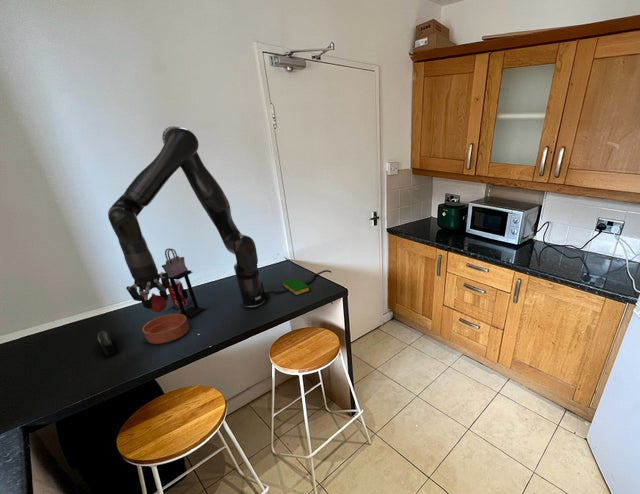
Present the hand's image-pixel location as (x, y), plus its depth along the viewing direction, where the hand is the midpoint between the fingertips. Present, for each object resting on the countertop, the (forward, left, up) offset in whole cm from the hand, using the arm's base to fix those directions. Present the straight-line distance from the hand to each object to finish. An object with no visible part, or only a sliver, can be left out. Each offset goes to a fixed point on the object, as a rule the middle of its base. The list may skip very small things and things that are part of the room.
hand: (157, 303), depth 118 cm
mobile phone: (+13, -14, -14) cm, 24 cm away
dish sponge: (-49, +26, -14) cm, 57 cm away
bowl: (0, 0, -14) cm, 14 cm away
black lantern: (-15, -5, -14) cm, 21 cm away
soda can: (-19, -15, -14) cm, 28 cm away
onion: (0, 0, -4) cm, 4 cm away
